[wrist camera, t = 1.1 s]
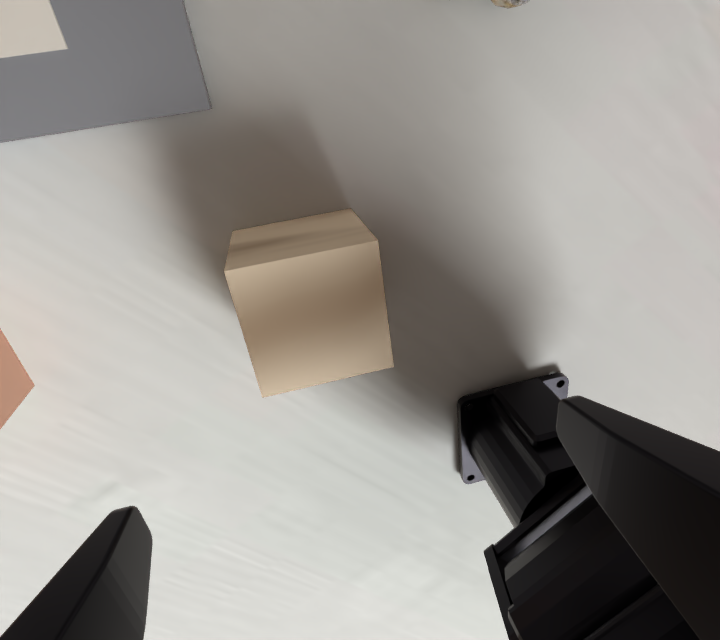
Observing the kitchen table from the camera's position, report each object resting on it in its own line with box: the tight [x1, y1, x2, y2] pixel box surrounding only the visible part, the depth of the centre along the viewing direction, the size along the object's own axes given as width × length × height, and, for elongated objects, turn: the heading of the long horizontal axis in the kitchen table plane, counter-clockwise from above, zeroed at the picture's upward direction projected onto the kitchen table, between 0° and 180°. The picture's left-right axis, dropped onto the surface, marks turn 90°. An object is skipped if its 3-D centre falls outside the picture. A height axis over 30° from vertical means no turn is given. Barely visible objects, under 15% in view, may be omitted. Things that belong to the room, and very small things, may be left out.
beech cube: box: [224, 208, 394, 398], centre depth 17 cm, size 5×5×5 cm
